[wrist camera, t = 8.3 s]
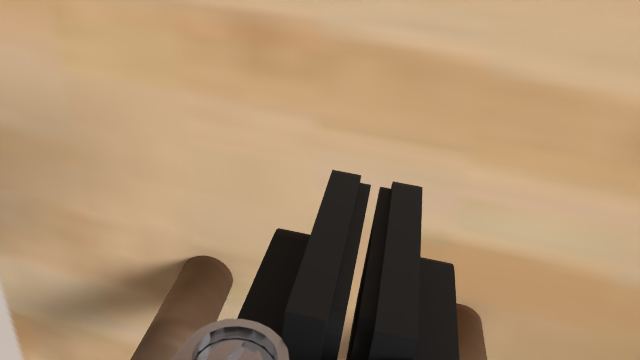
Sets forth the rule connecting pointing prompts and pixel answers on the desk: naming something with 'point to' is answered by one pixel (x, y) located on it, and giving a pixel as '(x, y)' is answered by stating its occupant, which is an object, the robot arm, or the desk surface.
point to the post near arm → (470, 334)
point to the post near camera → (186, 308)
